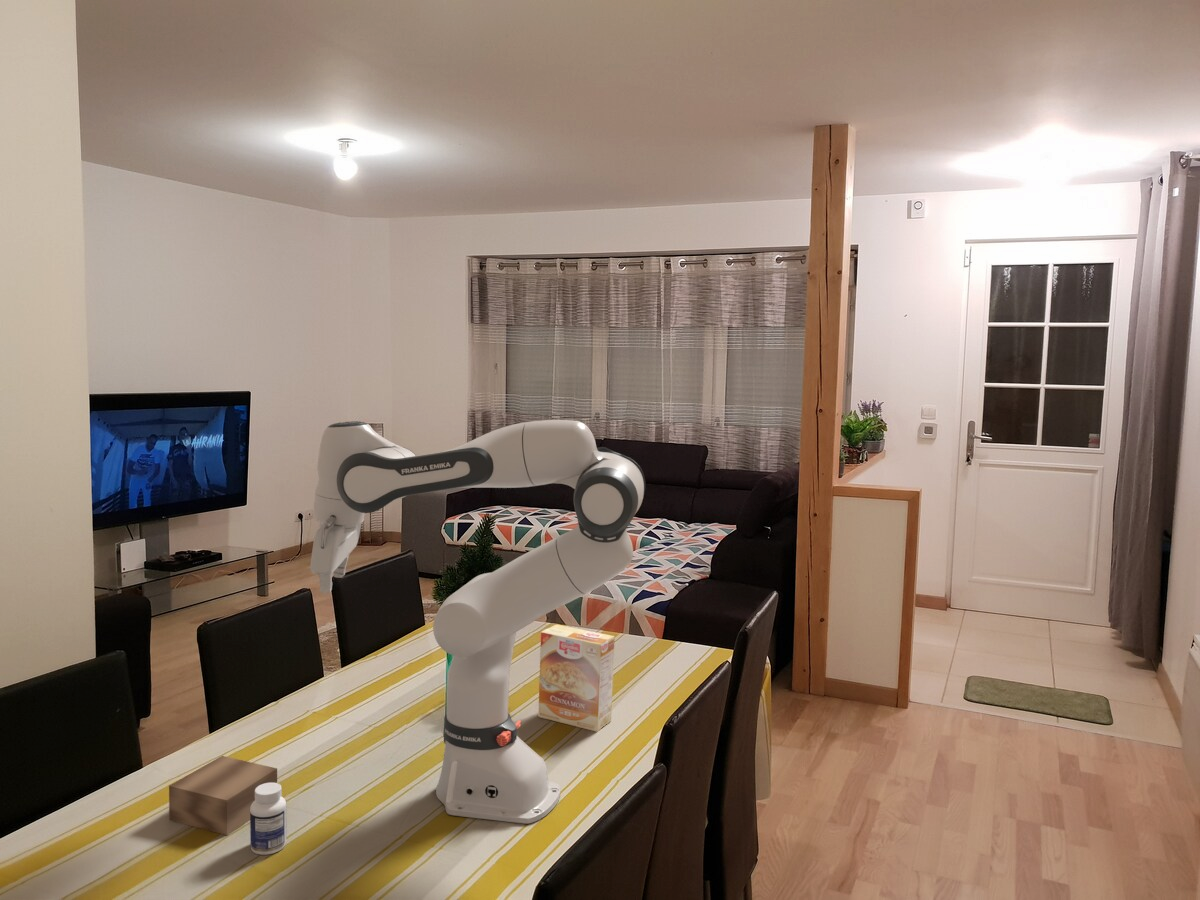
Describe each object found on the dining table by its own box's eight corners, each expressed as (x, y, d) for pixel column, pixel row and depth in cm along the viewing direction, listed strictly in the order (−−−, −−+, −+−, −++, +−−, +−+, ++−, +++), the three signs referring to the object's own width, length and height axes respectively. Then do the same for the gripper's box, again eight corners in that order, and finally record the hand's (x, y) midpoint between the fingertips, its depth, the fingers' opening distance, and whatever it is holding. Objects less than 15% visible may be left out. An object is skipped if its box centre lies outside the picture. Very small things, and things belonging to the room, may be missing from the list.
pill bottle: (256, 837, 142) (255, 780, 141) (290, 836, 143) (290, 779, 142) (245, 856, 137) (245, 796, 136) (281, 855, 138) (281, 796, 137)
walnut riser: (277, 801, 154) (277, 768, 153) (227, 835, 143) (226, 800, 142) (222, 787, 158) (222, 755, 157) (169, 820, 147) (168, 785, 146)
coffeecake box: (537, 717, 193) (539, 631, 191) (553, 706, 200) (556, 623, 198) (597, 732, 187) (600, 643, 184) (612, 721, 193) (615, 634, 191)
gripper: (342, 525, 147) (335, 604, 149) (369, 500, 167) (362, 570, 169) (304, 521, 147) (297, 600, 149) (335, 496, 167) (329, 566, 169)
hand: (332, 584), depth 159 cm, fingers open, 8 cm apart
